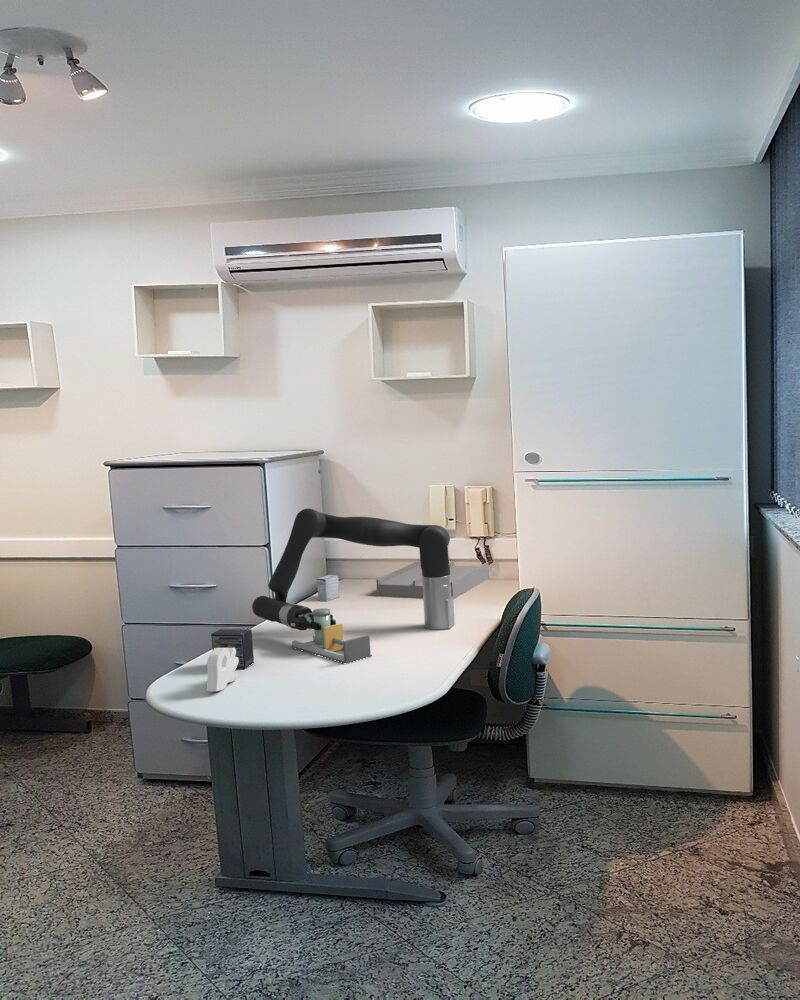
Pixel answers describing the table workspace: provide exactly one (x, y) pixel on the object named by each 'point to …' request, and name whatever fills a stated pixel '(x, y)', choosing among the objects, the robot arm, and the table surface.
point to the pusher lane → (350, 653)
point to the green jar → (324, 619)
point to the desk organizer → (411, 584)
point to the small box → (236, 644)
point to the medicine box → (328, 587)
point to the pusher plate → (333, 637)
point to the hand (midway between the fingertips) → (327, 625)
